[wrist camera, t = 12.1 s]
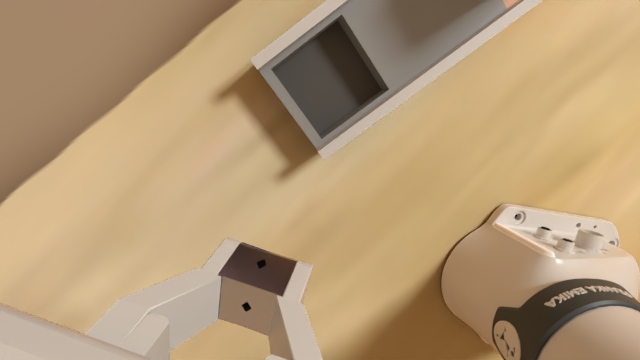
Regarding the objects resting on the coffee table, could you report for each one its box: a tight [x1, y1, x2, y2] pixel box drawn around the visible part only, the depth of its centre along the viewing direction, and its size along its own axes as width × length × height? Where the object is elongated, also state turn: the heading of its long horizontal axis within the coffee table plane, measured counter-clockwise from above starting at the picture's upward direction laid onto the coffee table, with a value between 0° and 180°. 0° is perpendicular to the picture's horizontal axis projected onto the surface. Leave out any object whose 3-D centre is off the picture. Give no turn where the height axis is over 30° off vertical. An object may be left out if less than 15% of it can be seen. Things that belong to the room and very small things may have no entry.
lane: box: [250, 0, 543, 160], centre depth 31 cm, size 32×11×4 cm, turn 126°
